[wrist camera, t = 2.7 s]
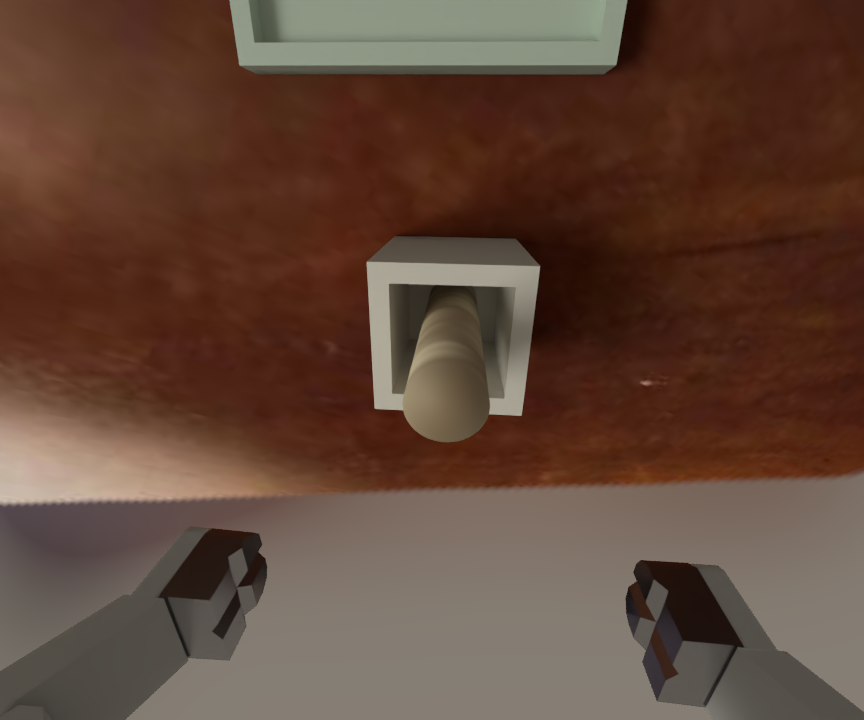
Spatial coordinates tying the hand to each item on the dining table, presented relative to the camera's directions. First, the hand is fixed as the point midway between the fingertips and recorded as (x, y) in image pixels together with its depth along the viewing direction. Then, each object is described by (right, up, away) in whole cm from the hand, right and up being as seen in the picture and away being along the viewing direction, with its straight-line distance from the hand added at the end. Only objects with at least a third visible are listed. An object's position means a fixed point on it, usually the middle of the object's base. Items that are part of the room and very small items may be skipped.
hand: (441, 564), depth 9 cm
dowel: (+1, +9, +19) cm, 21 cm away
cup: (+1, +9, +20) cm, 22 cm away
